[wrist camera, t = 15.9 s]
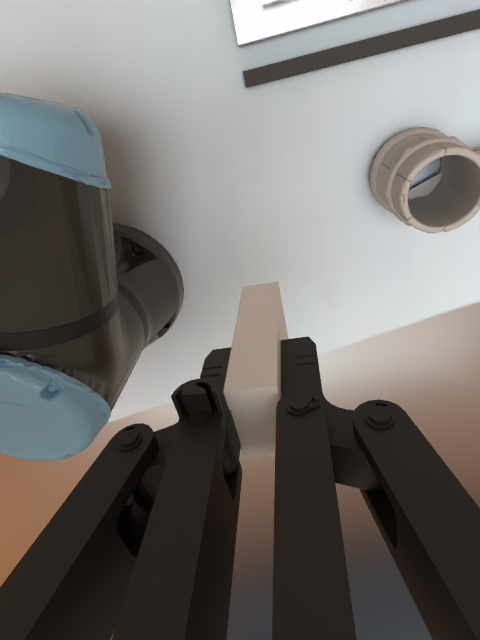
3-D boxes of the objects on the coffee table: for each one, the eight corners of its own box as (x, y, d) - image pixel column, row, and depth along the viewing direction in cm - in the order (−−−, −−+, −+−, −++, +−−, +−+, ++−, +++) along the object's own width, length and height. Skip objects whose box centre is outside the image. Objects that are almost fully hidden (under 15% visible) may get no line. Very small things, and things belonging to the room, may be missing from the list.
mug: (361, 140, 36) (393, 160, 26) (499, 99, 34) (594, 103, 24) (371, 218, 40) (403, 261, 30) (496, 185, 37) (578, 221, 27)
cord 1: (246, 87, 35) (245, 87, 34) (244, 72, 34) (242, 71, 33) (540, 12, 31) (549, 9, 30) (543, -7, 30) (552, -10, 29)
